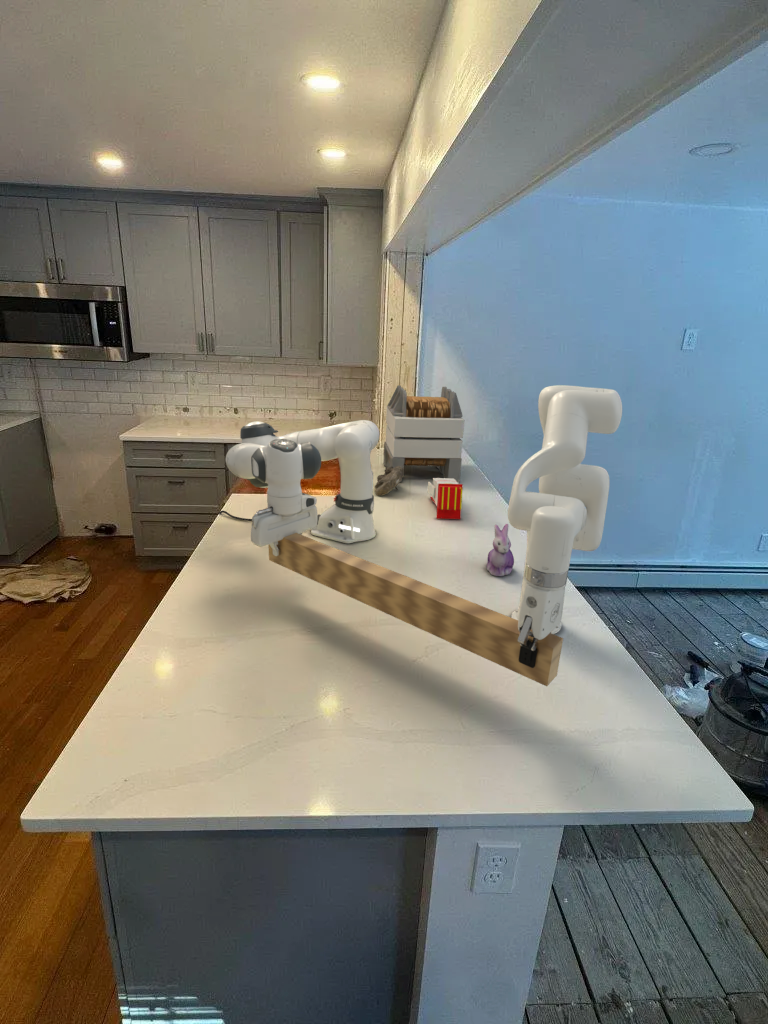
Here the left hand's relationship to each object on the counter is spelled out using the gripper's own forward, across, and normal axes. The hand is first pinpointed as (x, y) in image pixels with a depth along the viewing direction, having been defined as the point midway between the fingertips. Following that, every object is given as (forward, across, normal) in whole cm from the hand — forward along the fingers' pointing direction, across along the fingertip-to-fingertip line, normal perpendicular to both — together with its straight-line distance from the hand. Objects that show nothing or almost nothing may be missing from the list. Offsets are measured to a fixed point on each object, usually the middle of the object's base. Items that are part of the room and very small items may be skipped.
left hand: (285, 551), depth 151 cm
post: (+3, 0, -36) cm, 36 cm away
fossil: (+13, +93, +40) cm, 103 cm away
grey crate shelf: (+14, +125, +47) cm, 134 cm away
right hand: (0, 0, -71) cm, 71 cm away
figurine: (+13, +55, -36) cm, 67 cm away
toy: (+13, +92, +10) cm, 93 cm away
